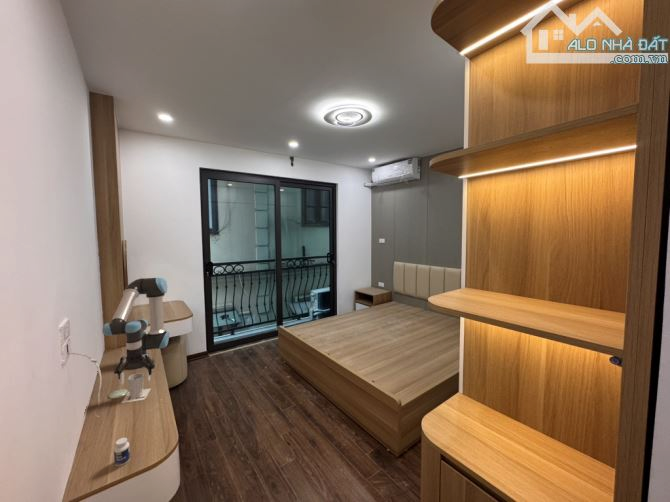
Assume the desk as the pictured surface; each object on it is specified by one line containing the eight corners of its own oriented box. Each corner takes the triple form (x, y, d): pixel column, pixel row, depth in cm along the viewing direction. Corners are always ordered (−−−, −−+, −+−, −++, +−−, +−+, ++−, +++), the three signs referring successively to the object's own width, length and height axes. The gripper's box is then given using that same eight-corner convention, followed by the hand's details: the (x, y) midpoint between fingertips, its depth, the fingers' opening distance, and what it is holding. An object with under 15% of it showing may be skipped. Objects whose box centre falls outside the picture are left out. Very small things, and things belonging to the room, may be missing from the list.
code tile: (128, 392, 172) (128, 391, 172) (151, 388, 176) (151, 388, 175) (120, 403, 160) (120, 403, 160) (144, 400, 164) (144, 399, 164)
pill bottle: (114, 469, 117) (113, 447, 116) (115, 460, 121) (113, 439, 120) (130, 462, 120) (129, 441, 119) (130, 454, 124) (129, 434, 124)
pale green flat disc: (112, 391, 172) (112, 390, 172) (129, 388, 175) (129, 387, 175) (106, 399, 163) (106, 398, 163) (124, 397, 166) (124, 396, 166)
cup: (136, 400, 163) (135, 380, 162) (125, 398, 165) (124, 379, 164) (147, 392, 171) (146, 373, 170) (137, 390, 173) (136, 372, 172)
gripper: (106, 353, 158) (107, 388, 159) (156, 347, 166) (157, 381, 167) (111, 348, 165) (113, 382, 166) (159, 342, 173) (161, 375, 174)
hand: (135, 382), depth 167 cm, fingers open, 13 cm apart
